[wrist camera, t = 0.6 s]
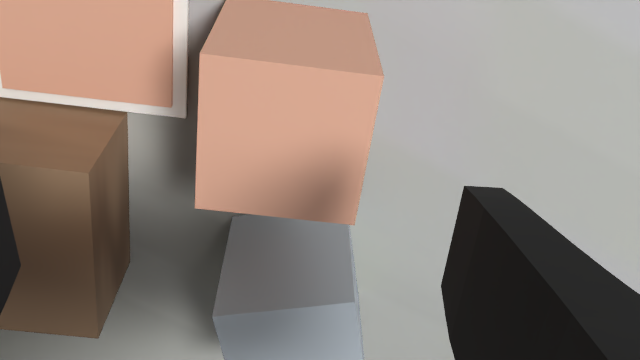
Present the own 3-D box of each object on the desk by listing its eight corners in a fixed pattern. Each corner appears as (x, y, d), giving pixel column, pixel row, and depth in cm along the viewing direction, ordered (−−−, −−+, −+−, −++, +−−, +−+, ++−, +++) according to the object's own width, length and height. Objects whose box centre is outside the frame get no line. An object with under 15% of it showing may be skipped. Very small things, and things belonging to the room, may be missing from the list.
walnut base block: (131, 258, 22) (98, 338, 19) (-38, 240, 22) (-105, 319, 18) (128, 109, 19) (88, 173, 16) (-69, 84, 19) (-155, 144, 15)
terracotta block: (345, 135, 19) (354, 225, 15) (221, 121, 19) (194, 208, 15) (367, 13, 17) (384, 76, 13) (228, -6, 17) (199, 53, 13)
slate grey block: (357, 290, 23) (368, 399, 19) (253, 301, 23) (240, 411, 19) (346, 202, 21) (355, 301, 17) (232, 215, 21) (212, 317, 17)
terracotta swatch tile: (186, 115, 19) (184, 121, 19) (-4, 93, 19) (-10, 98, 18) (190, -82, 16) (188, -80, 16) (-35, -114, 16) (-43, -112, 15)
